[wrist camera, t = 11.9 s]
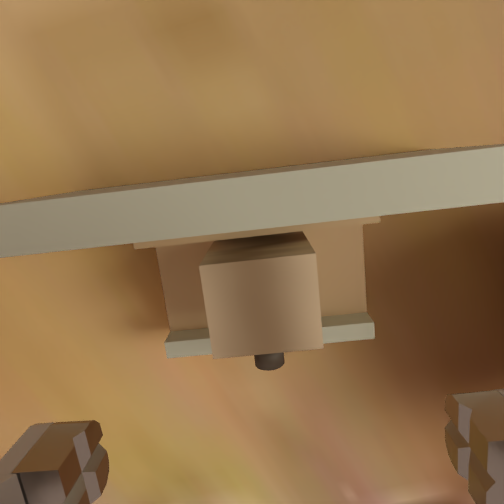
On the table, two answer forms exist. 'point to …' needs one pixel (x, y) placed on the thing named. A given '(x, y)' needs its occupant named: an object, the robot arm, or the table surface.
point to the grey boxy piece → (258, 223)
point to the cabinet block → (262, 297)
